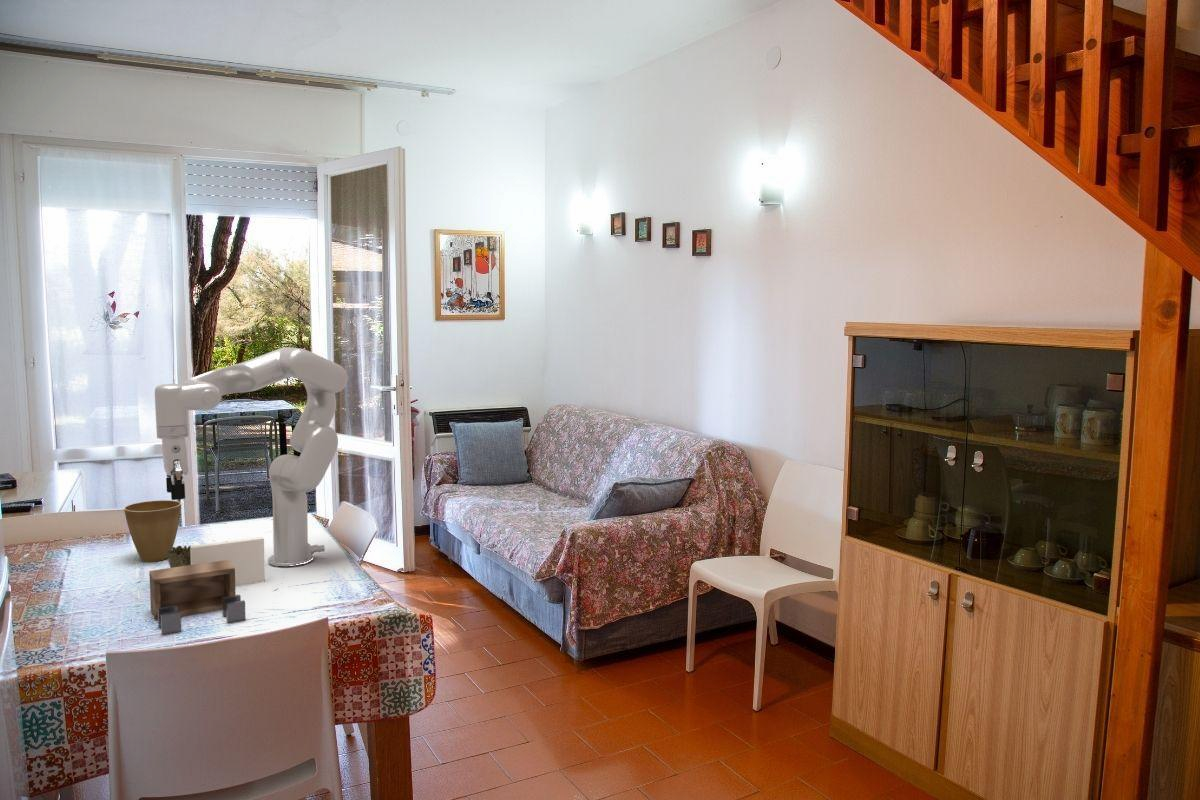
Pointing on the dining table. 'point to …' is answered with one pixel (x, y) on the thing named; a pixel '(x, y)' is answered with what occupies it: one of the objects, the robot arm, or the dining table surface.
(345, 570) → the dining table surface
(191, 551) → the cabinet door
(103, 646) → the dining table surface
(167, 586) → the cabinet body
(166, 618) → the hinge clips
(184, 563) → the dark textured ornament
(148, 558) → the plant pot
